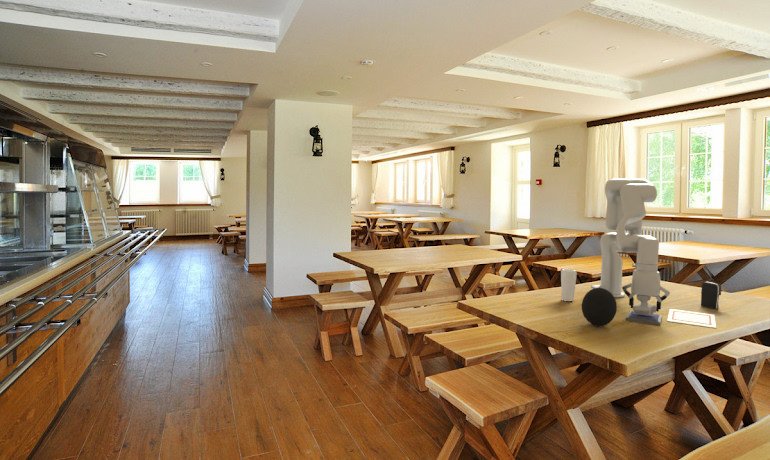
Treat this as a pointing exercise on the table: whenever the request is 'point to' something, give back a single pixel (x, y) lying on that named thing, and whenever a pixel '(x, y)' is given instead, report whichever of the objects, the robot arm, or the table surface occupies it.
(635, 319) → the ink pad
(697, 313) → the paper sheet
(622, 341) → the table surface
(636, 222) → the robot arm
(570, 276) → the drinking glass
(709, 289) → the battery charger
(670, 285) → the table surface
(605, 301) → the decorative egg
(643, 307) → the stamp
